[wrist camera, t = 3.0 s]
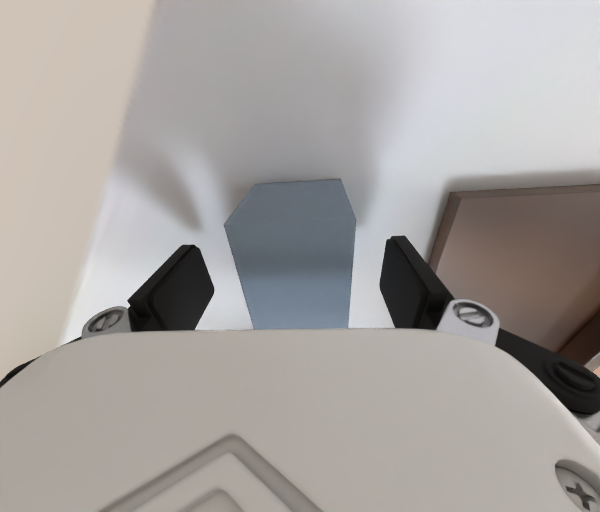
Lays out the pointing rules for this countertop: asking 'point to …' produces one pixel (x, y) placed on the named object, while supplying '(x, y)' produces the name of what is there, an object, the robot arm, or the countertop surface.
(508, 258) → the backing board
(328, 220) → the pad
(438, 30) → the countertop surface
